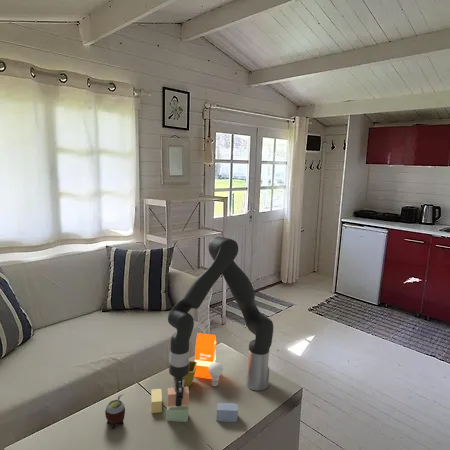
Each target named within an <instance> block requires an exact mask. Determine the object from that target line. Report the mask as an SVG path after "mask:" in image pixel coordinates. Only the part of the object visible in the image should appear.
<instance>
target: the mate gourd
mask: <svg viewBox="0 0 450 450" xmlns="http://www.w3.org/2000/svg"><path fill="white" fill-rule="evenodd" d="M124 395H125V394H124V393H123V394H120V395H118V397H117V399H114V400H111V401H109V403H108V404H107V405H106V407H105V410H104V414H105V419H106V420H107V421H106V424H109V425H111V429H110V430H115V427H116V425H124V419H125V414H126V408H125V404H124V402H122V400H120V398H121V397H122V396H124Z"/></svg>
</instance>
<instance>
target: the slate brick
mask: <svg viewBox="0 0 450 450" xmlns="http://www.w3.org/2000/svg"><path fill="white" fill-rule="evenodd" d="M238 407H239V406H238V403H228V402H227V403H225V402H217V403H216V422H224V423H225V422H230V423H238V415H239V414H238Z"/></svg>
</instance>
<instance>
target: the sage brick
mask: <svg viewBox="0 0 450 450" xmlns="http://www.w3.org/2000/svg"><path fill="white" fill-rule="evenodd" d="M189 406H190V405H182V406H171V407H168V406H167V407H166V422H167V421H168V422H180V423H181V422H182V423H183V422H185V423H188V421H189V412H190V410H189V408H190V407H189Z"/></svg>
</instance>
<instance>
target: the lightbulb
mask: <svg viewBox="0 0 450 450" xmlns="http://www.w3.org/2000/svg"><path fill="white" fill-rule="evenodd" d="M223 369H224V368H223V365H222V364H221V363H220V362H218V361H215V362H213V363H211V364H210V366H209V369H208V371H209V374H210V375H211V378H212V379H211V386H213V387H217V386H218V385H219V380H220V379H219V378H220V376H221V375H222V374H223V372H224V371H223Z"/></svg>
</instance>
